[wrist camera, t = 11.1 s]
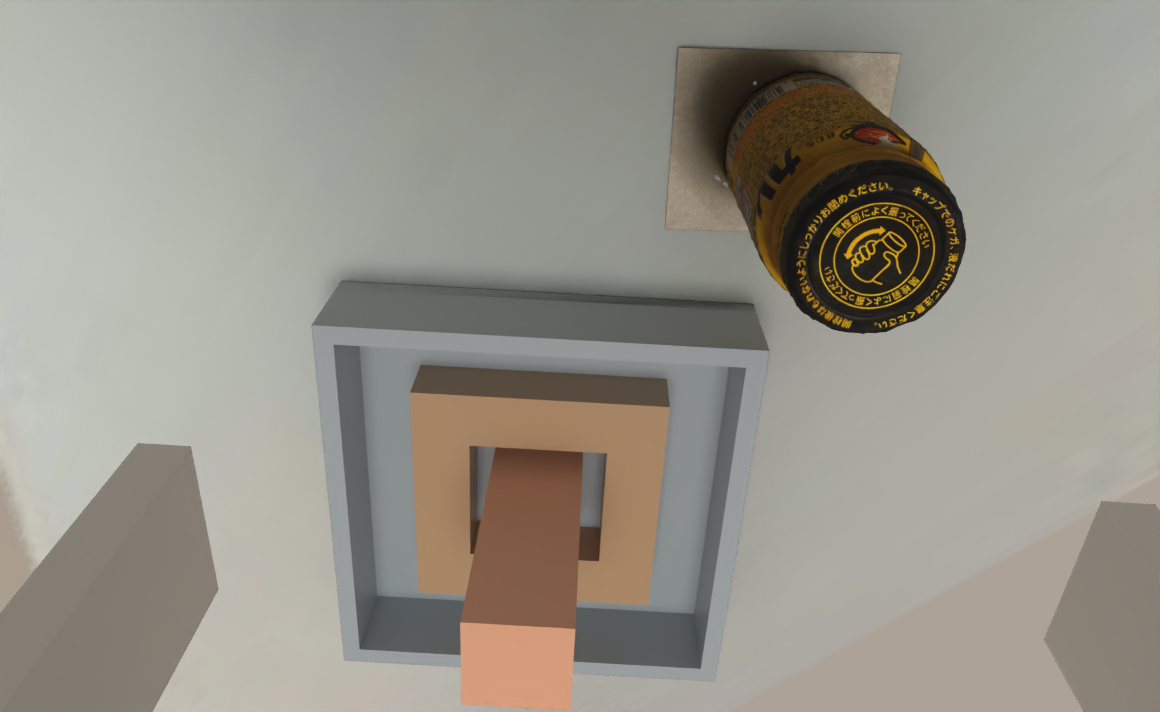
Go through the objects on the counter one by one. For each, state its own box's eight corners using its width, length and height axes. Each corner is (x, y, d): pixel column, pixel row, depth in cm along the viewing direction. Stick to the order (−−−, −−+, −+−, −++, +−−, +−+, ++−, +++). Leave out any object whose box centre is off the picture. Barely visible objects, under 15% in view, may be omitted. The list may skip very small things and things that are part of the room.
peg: (497, 436, 42) (459, 622, 31) (583, 441, 42) (575, 628, 31) (497, 505, 44) (461, 704, 33) (579, 510, 44) (570, 710, 33)
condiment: (866, 233, 38) (968, 368, 27) (664, 227, 38) (687, 358, 27) (899, 52, 34) (1029, 124, 24) (677, 45, 35) (708, 114, 24)
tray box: (341, 280, 39) (311, 325, 35) (752, 304, 39) (769, 351, 35) (366, 595, 48) (344, 660, 44) (706, 615, 48) (715, 681, 44)
